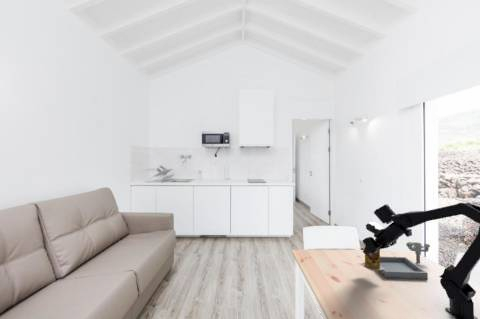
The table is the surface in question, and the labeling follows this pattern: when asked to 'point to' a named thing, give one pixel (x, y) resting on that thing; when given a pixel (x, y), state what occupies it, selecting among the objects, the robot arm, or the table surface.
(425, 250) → the mechanical component
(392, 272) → the tray
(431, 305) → the table surface
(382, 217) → the robot arm
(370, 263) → the condiment
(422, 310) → the table surface
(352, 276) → the table surface
